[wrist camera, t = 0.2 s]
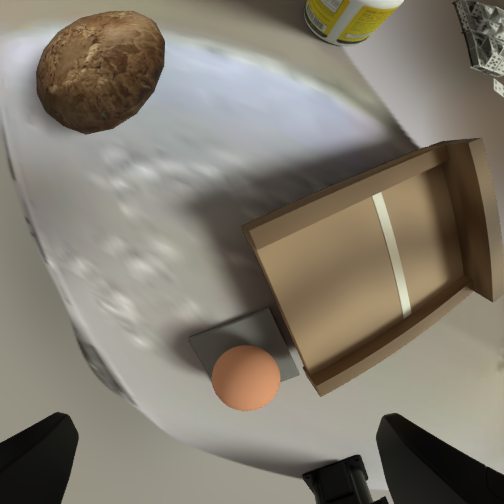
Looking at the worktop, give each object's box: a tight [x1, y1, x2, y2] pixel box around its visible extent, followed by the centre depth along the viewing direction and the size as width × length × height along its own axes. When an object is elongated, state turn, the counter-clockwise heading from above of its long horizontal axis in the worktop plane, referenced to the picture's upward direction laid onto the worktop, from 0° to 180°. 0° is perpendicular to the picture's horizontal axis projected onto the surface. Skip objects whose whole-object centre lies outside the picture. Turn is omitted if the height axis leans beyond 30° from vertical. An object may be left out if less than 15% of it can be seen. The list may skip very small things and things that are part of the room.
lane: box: [241, 138, 504, 397], centre depth 17 cm, size 11×16×5 cm
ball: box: [212, 345, 280, 411], centre depth 18 cm, size 4×4×4 cm
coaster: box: [188, 307, 299, 382], centre depth 21 cm, size 6×6×1 cm
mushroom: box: [36, 11, 165, 134], centre depth 13 cm, size 8×8×6 cm
